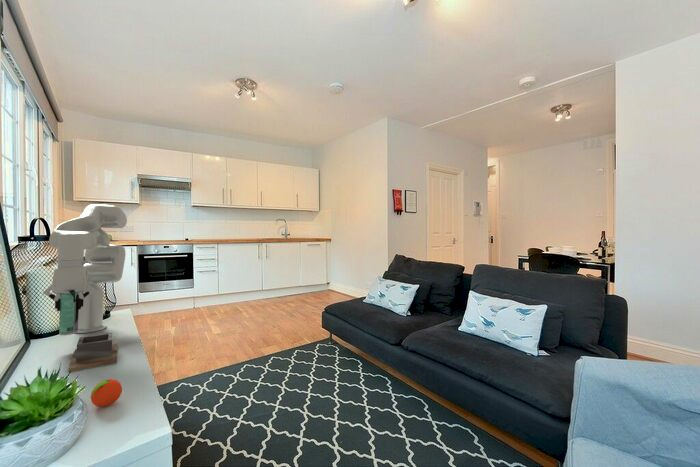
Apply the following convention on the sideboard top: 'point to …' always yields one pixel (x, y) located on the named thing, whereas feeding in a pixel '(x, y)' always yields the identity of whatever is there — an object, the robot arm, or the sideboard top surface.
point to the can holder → (94, 352)
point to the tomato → (106, 393)
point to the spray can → (69, 312)
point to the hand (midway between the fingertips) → (69, 309)
